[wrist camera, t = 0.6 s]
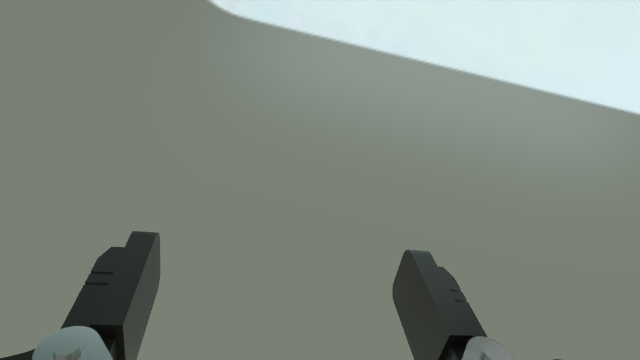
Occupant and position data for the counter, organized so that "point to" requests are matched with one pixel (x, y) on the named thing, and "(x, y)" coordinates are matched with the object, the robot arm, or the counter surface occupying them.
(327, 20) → the counter surface
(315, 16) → the counter surface
